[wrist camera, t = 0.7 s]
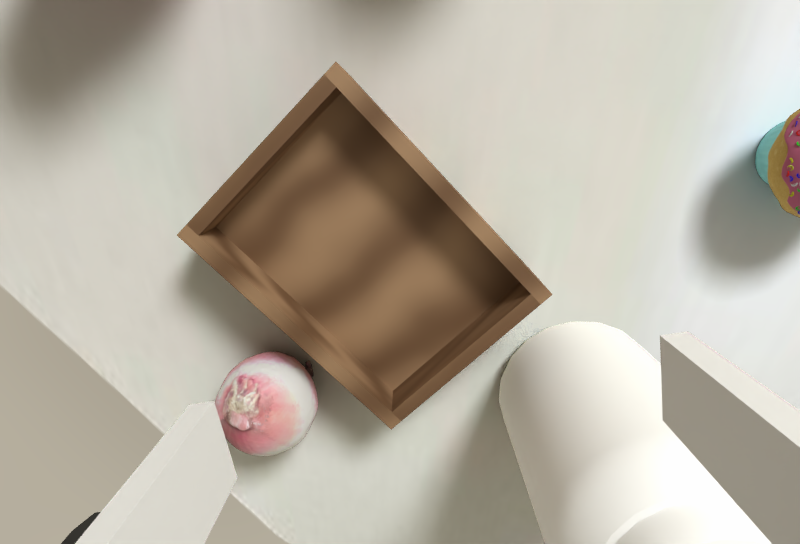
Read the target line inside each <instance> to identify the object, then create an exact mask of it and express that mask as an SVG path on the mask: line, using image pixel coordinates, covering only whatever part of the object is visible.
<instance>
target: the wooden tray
mask: <svg viewBox="0 0 800 544" xmlns="http://www.w3.org/2000/svg"><path fill="white" fill-rule="evenodd" d="M177 236H178V237H179V238H180V239H182V240H183V241H184V242H185V243H186V244H187V245H188V246H189V247H190V248H191V249H193V250H194V251H195V252H196V253H197V254H198V255H199V256H200V257H201V258H203V259H204V260H205V261H206V262H207V263H208V264H209V265H210V266H211V267H212V268H214V269H215V270H216V271H217V272H218V273H219V274H220V275H221V276H222V277H224V278H225V279H226V280H227V281H228V282H229V283H230V284H231V285H232V286H233V287H235V288H236V289H237V290H238V291H239V292H240V293H241V294H242V295H243V296H245V297H246V298H247V299H248V300H249V301H250V302H251V303H252V304H253V305H254V306H256V307H257V308H258V309H259V310H260V311H261V312H262V313H263V314H264V315H266V316H267V317H268V318H269V319H270V320H271V321H272V322H273V323H274V324H275V325H277V326H278V327H279V328H280V329H281V330H282V331H283V332H284V333H285V334H287V335H288V336H289V337H290V338H291V339H292V340H293V341H294V342H295V343H296V344H298V345H299V346H300V347H301V348H302V349H303V350H304V351H305V352H306V353H308V354H309V355H310V356H311V357H312V358H313V359H314V360H315V361H316V362H317V363H319V364H320V365H321V366H322V367H323V368H324V369H325V370H326V371H327V372H329V373H330V374H331V375H332V376H333V377H334V378H335V379H336V380H337V381H338V382H340V383H341V384H342V385H343V386H344V387H345V388H346V389H347V390H348V391H350V392H351V393H352V394H353V395H354V396H355V397H356V398H357V399H358V400H359V401H361V402H362V403H363V404H364V405H365V406H366V407H367V408H368V409H369V410H371V411H372V412H373V413H374V414H375V415H376V416H377V417H378V418H379V419H380V420H382V421H383V422H384V423H385V424H386V425H387V426H388V427H389V428H390V429H392V428H394V427H395V426H396V425H397V424H398V423H400V422H401V421H402V420H403V419H404V418H405V417H407V416H408V415H409V414H410V413H411V412H413V411H414V410H415V409H416V408H417V407H419V406H420V405H421V404H422V403H423V402H425V401H426V400H427V399H428V398H429V397H431V396H432V395H433V394H434V393H435V392H437V391H438V390H439V389H440V388H441V387H443V386H444V385H445V384H446V383H447V382H448V381H450V380H451V379H452V378H453V377H454V376H456V375H457V374H458V373H459V372H460V371H462V370H463V369H464V368H465V367H466V366H468V365H469V364H470V363H471V362H472V361H474V360H475V359H476V358H477V357H478V356H480V355H481V354H482V353H483V352H484V351H486V350H487V349H488V348H489V347H490V346H491V345H493V344H494V343H495V342H496V341H497V340H499V339H500V338H501V337H502V336H503V335H505V334H506V333H507V332H508V331H509V330H511V329H512V328H513V327H514V326H515V325H517V324H518V323H519V322H520V321H521V320H523V319H524V318H525V317H526V316H527V315H529V314H530V313H531V312H532V311H533V310H535V309H536V308H537V307H538V306H539V305H540V304H542V303H543V302H544V301H545V300H546V299H548V298H549V297H550V296H551V295H552V294H551V292H550V291H549V290H548V289H547V288H546V287H545V286H544V285H543V283H542V282H541V281H540V280H539V279H538V278H537V277H536V276H535V274H534V273H533V272H532V271H531V270H530V269H529V268H528V267H527V266H526V265H525V264H524V262H523V261H522V260H521V259H520V258H519V257H518V256H517V255H516V254H515V253H514V252H513V251H512V250H511V248H510V247H509V246H508V245H507V244H506V243H505V242H504V241H503V240H502V239H501V238H500V237H499V236H498V234H497V233H496V232H495V231H494V230H493V229H492V228H491V227H490V226H489V225H488V224H487V223H486V222H485V220H484V219H483V218H482V217H481V216H480V215H479V214H478V213H477V212H476V211H475V210H474V209H473V208H472V206H471V205H470V204H469V203H468V202H467V201H466V200H465V199H464V198H463V197H462V196H461V195H460V194H459V192H458V191H457V190H456V189H455V188H454V187H453V186H452V185H451V184H450V183H449V182H448V181H447V180H446V178H445V177H444V176H443V175H442V174H441V173H440V172H439V171H438V170H437V169H436V168H435V167H434V166H433V164H432V163H431V162H430V161H429V160H428V159H427V158H426V157H425V156H424V155H423V154H422V153H421V152H420V150H419V149H418V148H417V147H416V146H415V145H414V144H413V143H412V142H411V141H410V140H409V139H408V138H407V136H406V135H405V134H404V133H403V132H402V131H401V130H400V129H399V128H398V127H397V126H396V125H395V124H394V122H393V121H392V120H391V119H390V118H389V117H388V116H387V115H386V114H385V113H384V112H383V111H382V110H381V108H380V107H379V106H378V105H377V104H376V103H375V102H374V101H373V100H372V99H371V98H370V97H369V96H368V94H367V93H366V92H365V91H364V90H363V89H362V88H361V87H360V86H359V85H358V84H357V83H356V82H355V80H354V79H353V78H352V77H351V76H350V75H349V74H348V73H347V72H346V71H345V70H344V69H343V68H342V67H341V66H340V65H339V64H338V63H337V62H335V63H334V64H333V65H332V66H331V68H330V69H329V70H328V71H327V72H326V73H325V74H324V75H323V76H322V77H321V78H320V80H319V81H318V82H317V83H316V84H315V85H314V86H313V87H312V88H311V89H310V90H309V92H308V93H307V94H306V95H305V96H304V97H303V98H302V99H301V100H300V101H299V102H298V104H297V105H296V106H295V107H294V108H293V109H292V110H291V111H290V112H289V113H288V114H287V116H286V117H285V118H284V119H283V120H282V121H281V122H280V123H279V124H278V125H277V126H276V128H275V129H274V130H273V131H272V132H271V133H270V134H269V135H268V136H267V137H266V138H265V140H264V141H263V142H262V143H261V144H260V145H259V146H258V147H257V148H256V149H255V150H254V152H253V153H252V154H251V155H250V156H249V157H248V158H247V159H246V160H245V161H244V162H243V164H242V165H241V166H240V167H239V168H238V169H237V170H236V171H235V172H234V173H233V174H232V176H231V177H230V178H229V179H228V180H227V181H226V182H225V183H224V184H223V185H222V186H221V188H220V189H219V190H218V191H217V192H216V193H215V194H214V195H213V196H212V197H211V198H210V200H209V201H208V202H207V203H206V204H205V205H204V206H203V207H202V208H201V209H200V210H199V212H198V213H197V214H196V215H195V216H194V217H193V218H192V219H191V220H190V221H189V222H188V224H187V225H186V226H185V227H184V228H183V229H182V230H181V231H180V232H179V233H178V234H177Z"/></svg>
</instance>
